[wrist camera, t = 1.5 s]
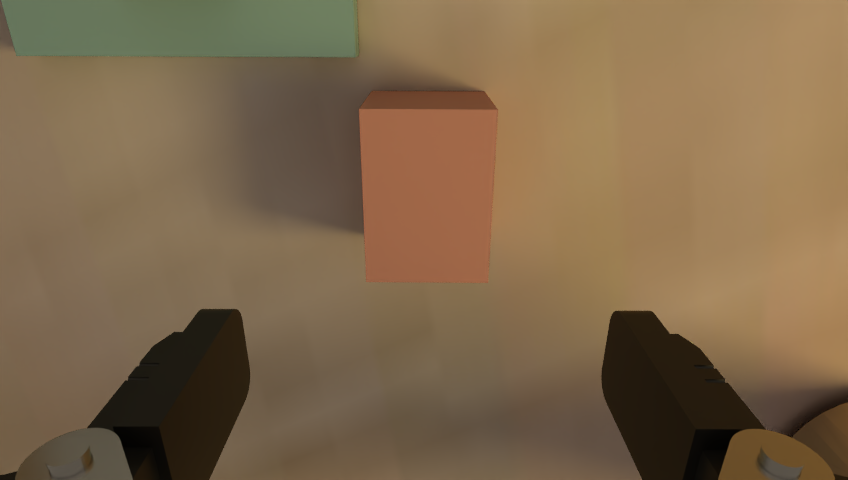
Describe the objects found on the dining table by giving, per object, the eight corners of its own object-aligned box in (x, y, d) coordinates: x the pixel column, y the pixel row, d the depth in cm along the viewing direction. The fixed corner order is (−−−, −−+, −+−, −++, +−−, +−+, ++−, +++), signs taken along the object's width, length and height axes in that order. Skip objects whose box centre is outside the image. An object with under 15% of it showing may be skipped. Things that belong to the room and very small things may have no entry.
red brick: (484, 90, 24) (497, 109, 19) (477, 235, 27) (487, 282, 22) (372, 90, 24) (358, 108, 19) (376, 235, 27) (366, 281, 22)
